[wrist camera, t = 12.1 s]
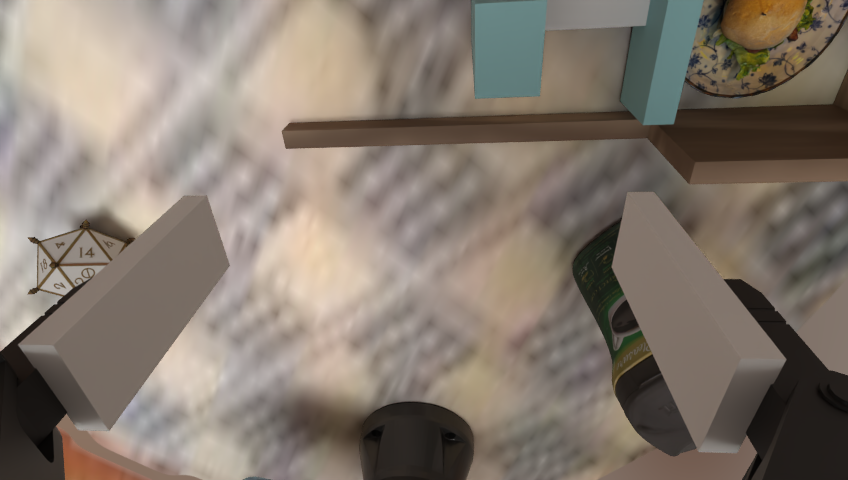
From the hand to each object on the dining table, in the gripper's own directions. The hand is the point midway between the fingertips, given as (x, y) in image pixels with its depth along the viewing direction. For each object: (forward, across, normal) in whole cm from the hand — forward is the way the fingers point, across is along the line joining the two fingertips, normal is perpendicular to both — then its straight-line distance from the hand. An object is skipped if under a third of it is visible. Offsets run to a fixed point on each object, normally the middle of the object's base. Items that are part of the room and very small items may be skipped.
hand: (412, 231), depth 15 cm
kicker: (+24, -9, -4) cm, 26 cm away
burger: (+25, -22, -3) cm, 33 cm away
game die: (+26, +35, +17) cm, 46 cm away
